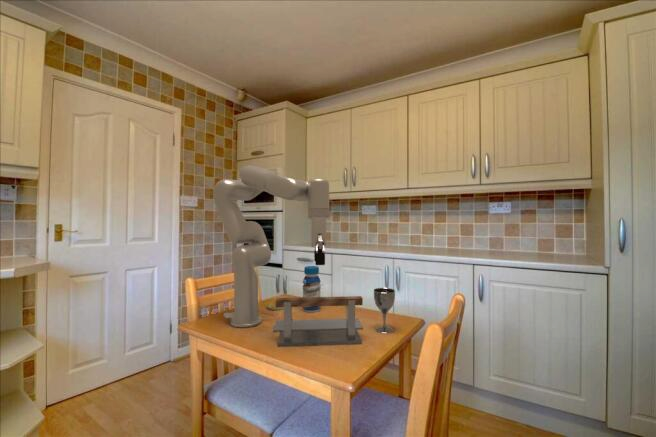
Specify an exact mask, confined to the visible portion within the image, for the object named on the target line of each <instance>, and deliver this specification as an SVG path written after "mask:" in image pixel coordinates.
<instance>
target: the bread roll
mask: <svg viewBox="0 0 656 437" xmlns="http://www.w3.org/2000/svg"><path fill="white" fill-rule="evenodd" d="M266 309H267V310H269V311H280V310H284V307H276V299H270V300H269V301H267V303H266Z"/></svg>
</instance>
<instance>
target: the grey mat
mask: <svg viewBox="0 0 656 437" xmlns="http://www.w3.org/2000/svg"><path fill="white" fill-rule="evenodd" d="M327 330H346V318H327V319H326V318H324V319H323V318H322V319H321V318H318V319H316V318H315V319H292V332H295V331H327ZM355 330H364V327H363V325H362V323H361V322H360V318H358V317H357V318H356V317H355ZM272 332H273V333H280V332H284V319H282V320H275V323H274V326H273V329H272Z"/></svg>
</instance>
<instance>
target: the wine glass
mask: <svg viewBox="0 0 656 437" xmlns="http://www.w3.org/2000/svg"><path fill="white" fill-rule="evenodd" d="M395 296H396V291H395V289H393V288H388V287H378V288H377V287H376V288H373V300H374V304H375V306H376V307H377V309H378V310H379V311H380V312H381V314H382V321H383V324H382V325H381V326H377V327H375V329H374V330H375V332H378V333H381V334H391V333H393V332H395V329H394V328H393V327H390V326H387V324H386V320H387V319H386V318H387V314H388V312H389V311H390V310H391V309H392V308H393V306H394V304H395V299H396V297H395Z"/></svg>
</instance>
